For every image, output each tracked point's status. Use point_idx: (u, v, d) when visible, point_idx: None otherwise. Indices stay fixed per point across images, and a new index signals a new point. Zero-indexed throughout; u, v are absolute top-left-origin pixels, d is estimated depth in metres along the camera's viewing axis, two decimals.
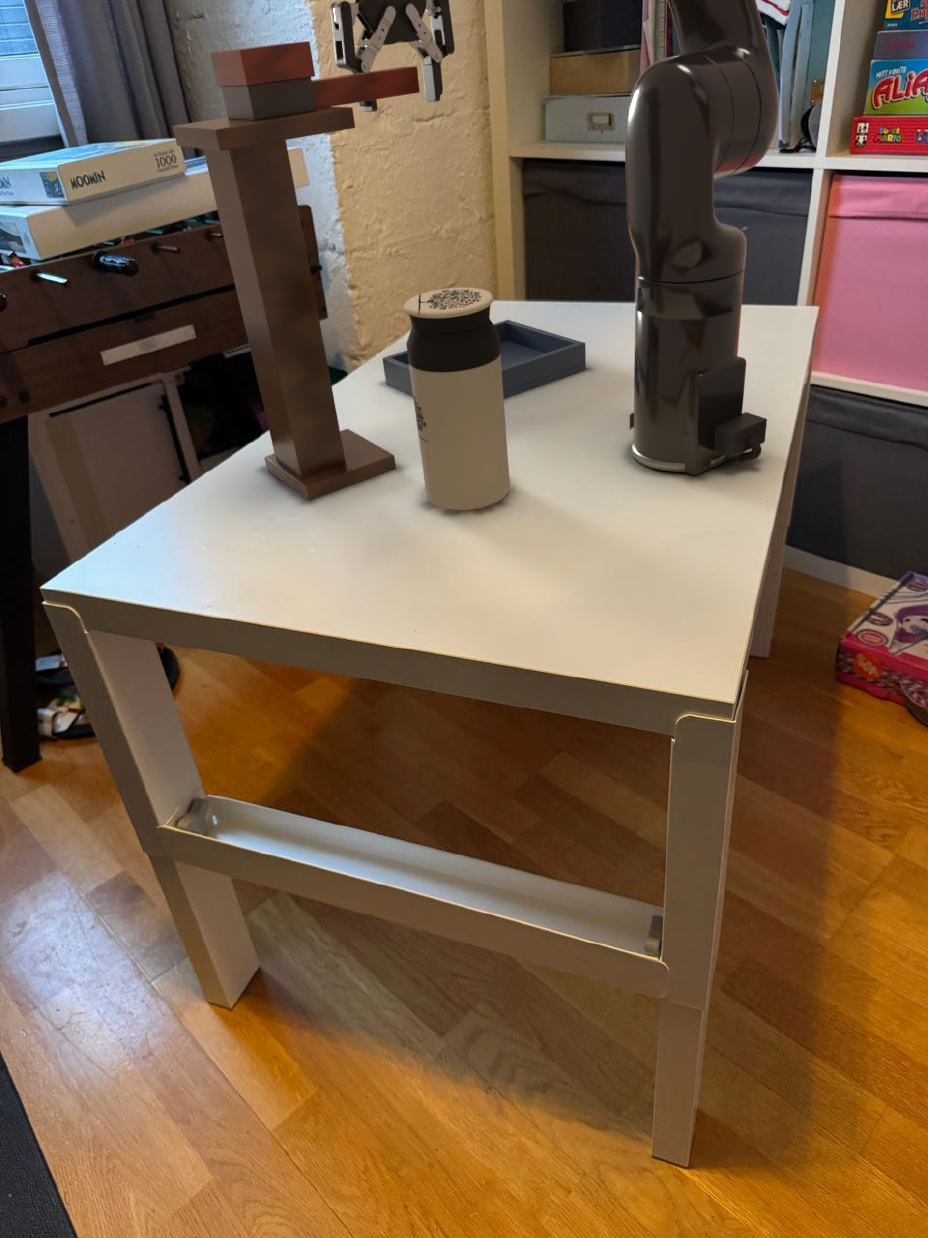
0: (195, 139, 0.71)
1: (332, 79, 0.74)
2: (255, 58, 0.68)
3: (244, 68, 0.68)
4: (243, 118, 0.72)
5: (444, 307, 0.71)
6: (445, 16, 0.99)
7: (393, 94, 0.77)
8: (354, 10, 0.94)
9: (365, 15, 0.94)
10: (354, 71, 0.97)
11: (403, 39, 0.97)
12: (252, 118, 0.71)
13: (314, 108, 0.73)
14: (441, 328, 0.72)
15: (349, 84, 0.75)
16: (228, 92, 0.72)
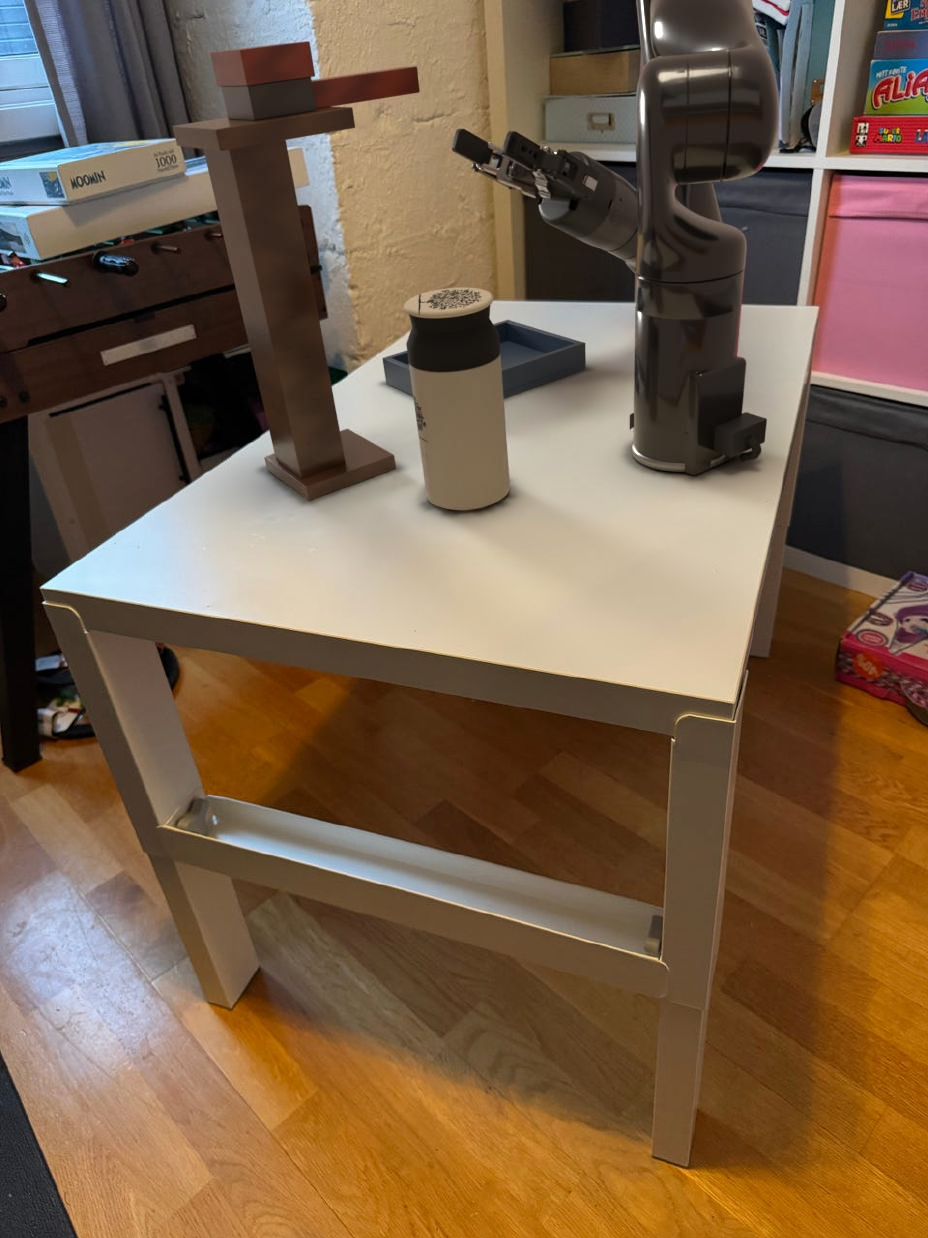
0: (195, 139, 0.71)
1: (332, 79, 0.74)
2: (255, 58, 0.68)
3: (244, 68, 0.68)
4: (243, 118, 0.72)
5: (444, 307, 0.71)
6: None
7: (393, 94, 0.77)
8: None
9: None
10: None
11: None
12: (252, 118, 0.71)
13: (314, 108, 0.73)
14: (441, 328, 0.72)
15: (349, 84, 0.75)
16: (228, 92, 0.72)
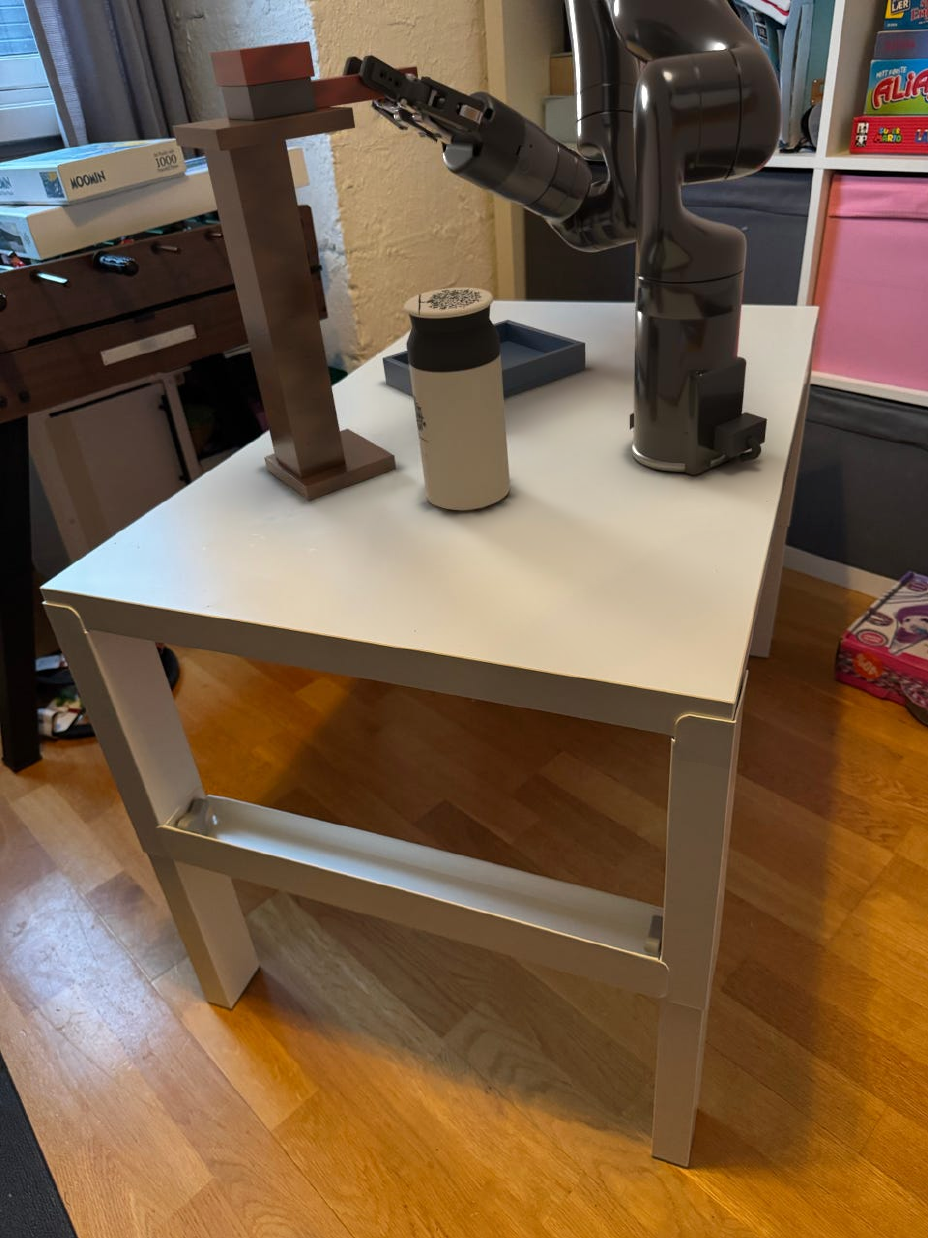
0: (195, 139, 0.71)
1: (332, 79, 0.74)
2: (255, 58, 0.68)
3: (244, 68, 0.68)
4: (243, 118, 0.72)
5: (444, 307, 0.71)
6: None
7: None
8: None
9: None
10: None
11: None
12: (252, 118, 0.71)
13: (314, 108, 0.73)
14: (441, 328, 0.72)
15: (349, 83, 0.75)
16: (228, 92, 0.72)
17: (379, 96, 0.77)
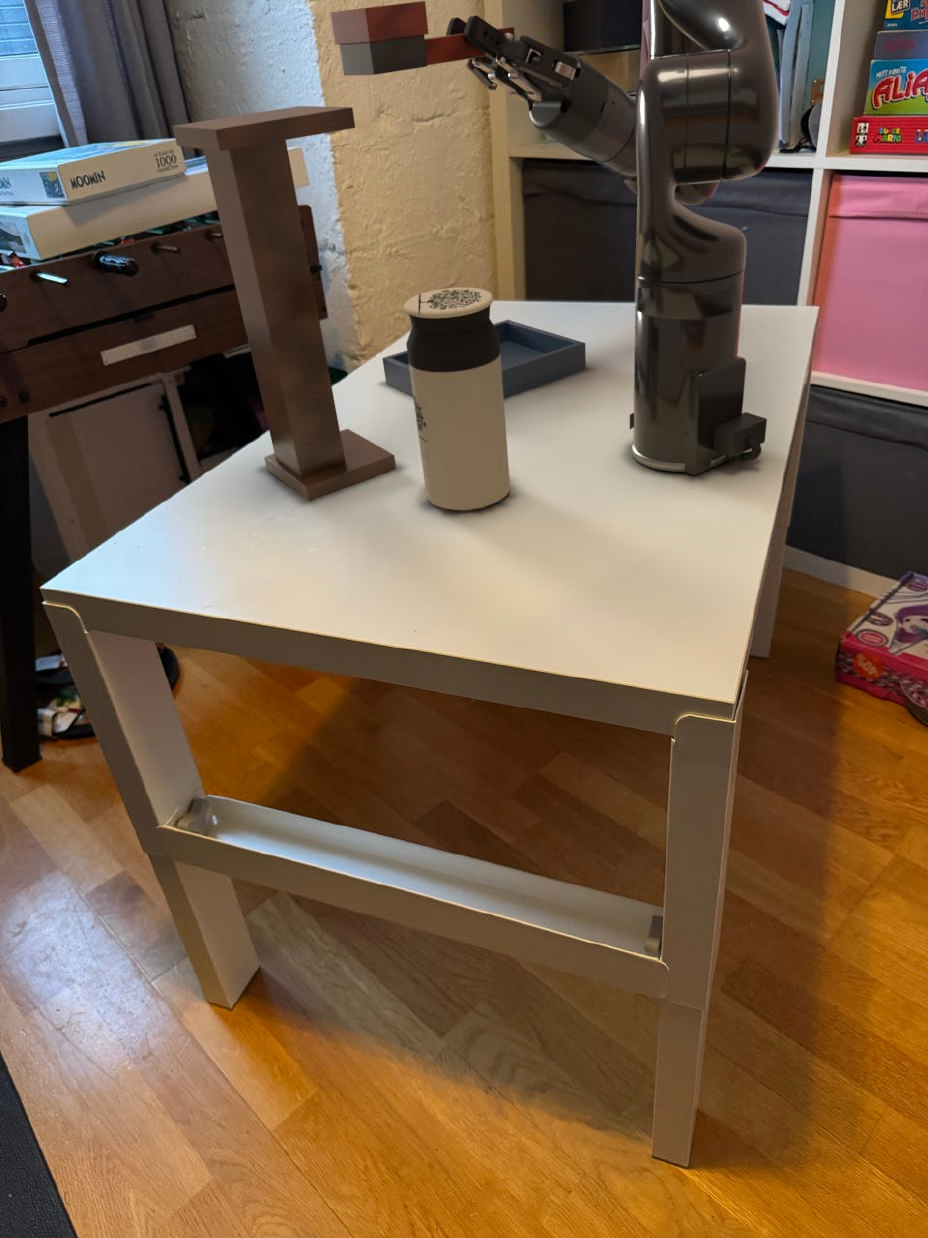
0: (195, 139, 0.71)
1: (440, 38, 0.80)
2: (378, 16, 0.74)
3: (368, 25, 0.74)
4: (361, 73, 0.78)
5: (444, 307, 0.71)
6: None
7: None
8: None
9: None
10: None
11: None
12: (371, 73, 0.77)
13: (425, 64, 0.79)
14: (441, 328, 0.72)
15: (455, 42, 0.81)
16: (346, 49, 0.78)
17: (480, 54, 0.83)
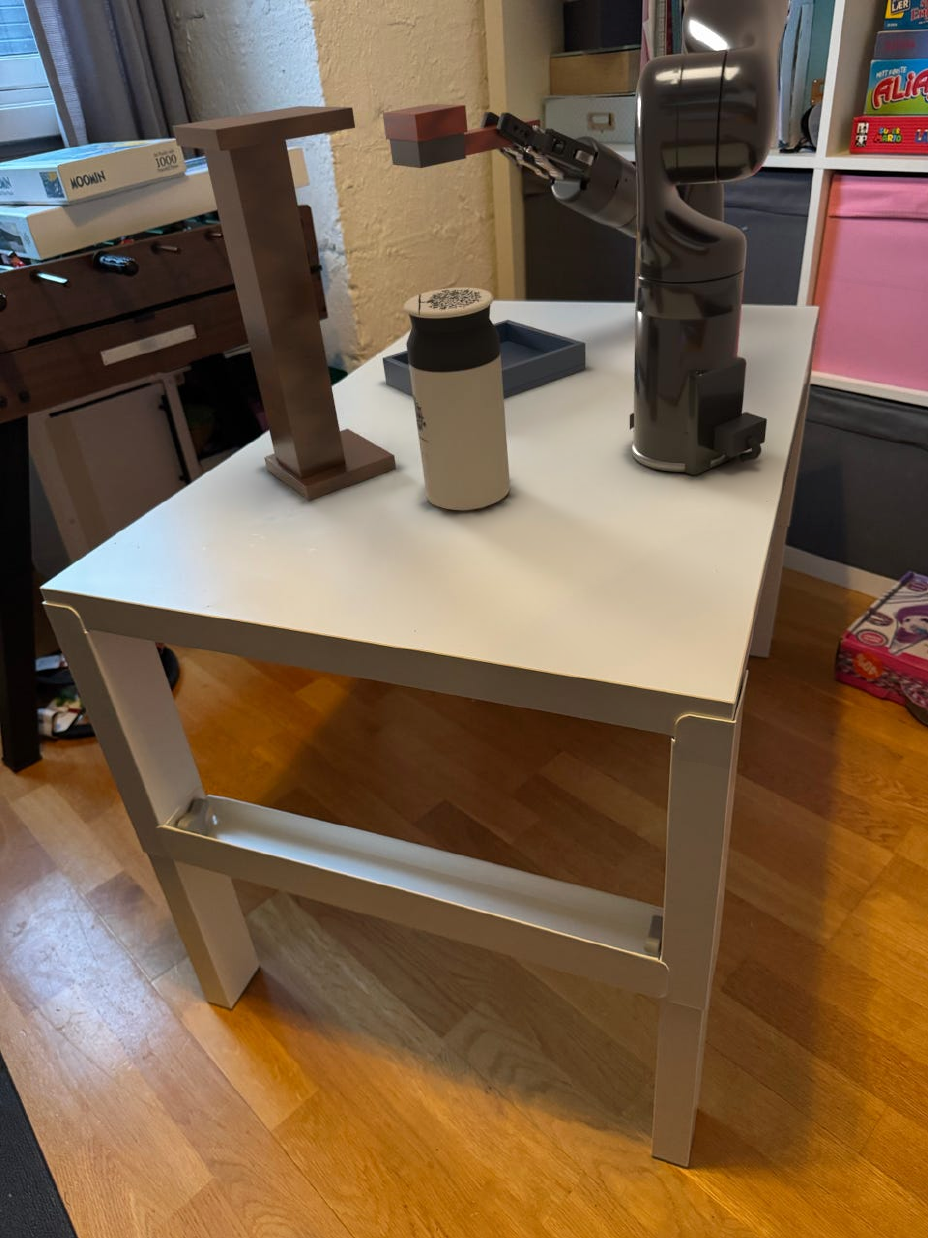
0: (195, 139, 0.71)
1: (476, 132, 0.92)
2: (425, 120, 0.86)
3: (417, 128, 0.86)
4: (409, 165, 0.90)
5: (444, 307, 0.71)
6: None
7: None
8: None
9: None
10: None
11: None
12: (418, 166, 0.89)
13: (464, 156, 0.91)
14: (441, 328, 0.72)
15: (489, 135, 0.93)
16: (396, 144, 0.90)
17: (510, 144, 0.95)
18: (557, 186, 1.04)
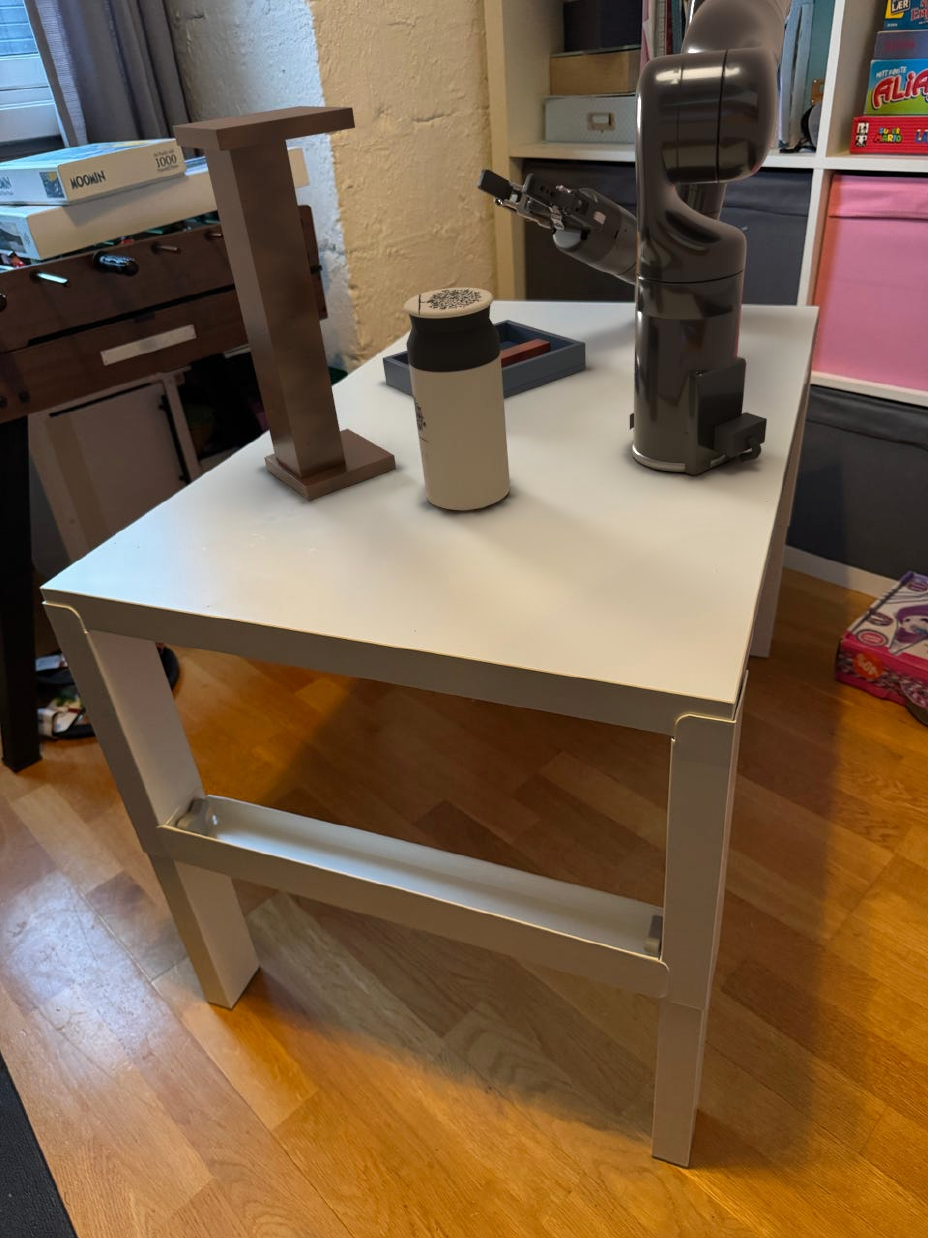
0: (195, 139, 0.71)
1: None
2: None
3: None
4: None
5: (444, 307, 0.71)
6: None
7: None
8: None
9: None
10: None
11: None
12: None
13: None
14: (441, 328, 0.72)
15: (507, 361, 1.07)
16: None
17: None
18: (558, 235, 1.07)
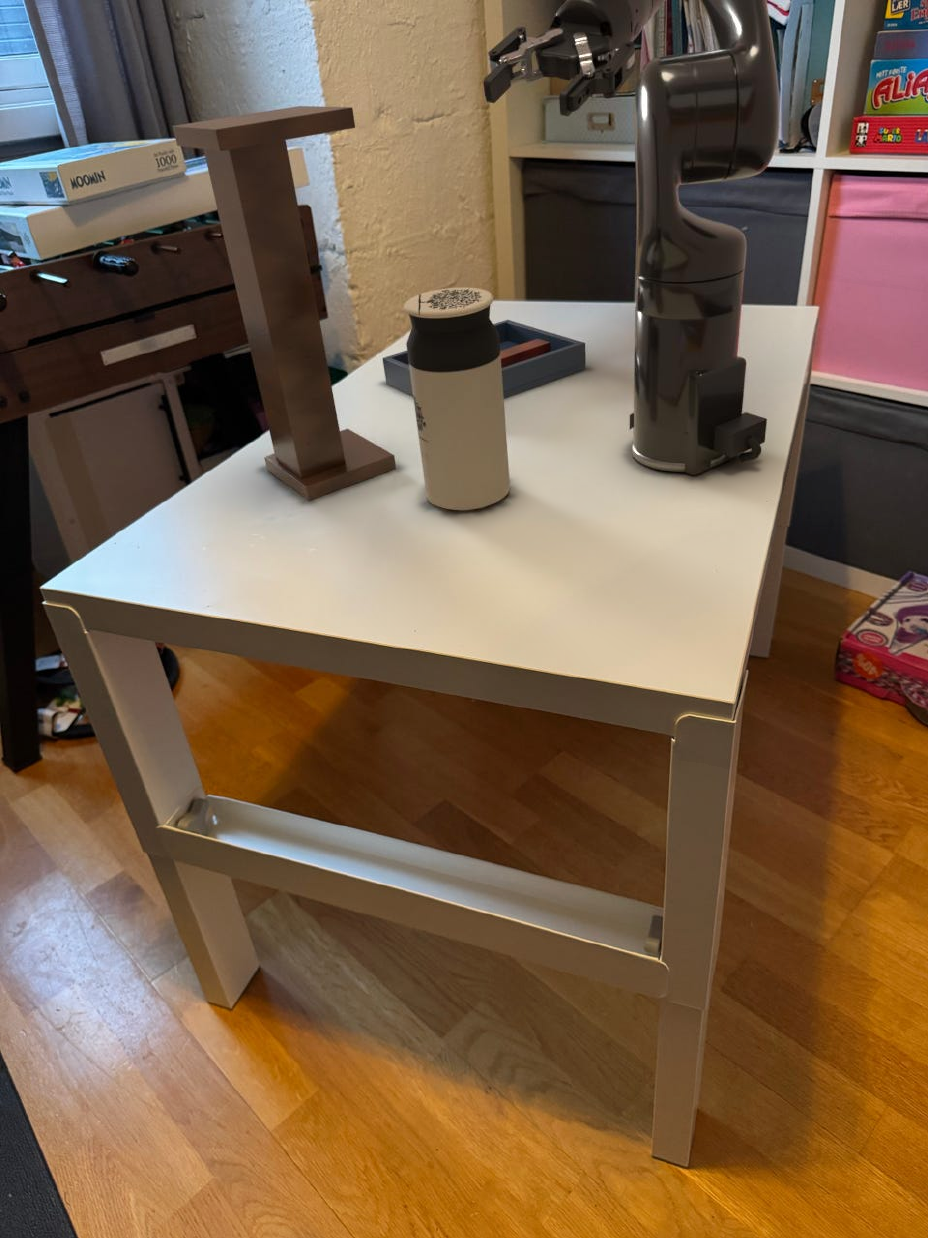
0: (195, 139, 0.71)
1: None
2: None
3: None
4: None
5: (444, 307, 0.71)
6: (619, 53, 0.86)
7: None
8: (531, 40, 0.92)
9: None
10: None
11: (560, 56, 0.88)
12: None
13: None
14: (441, 328, 0.72)
15: (507, 361, 1.07)
16: None
17: None
18: None
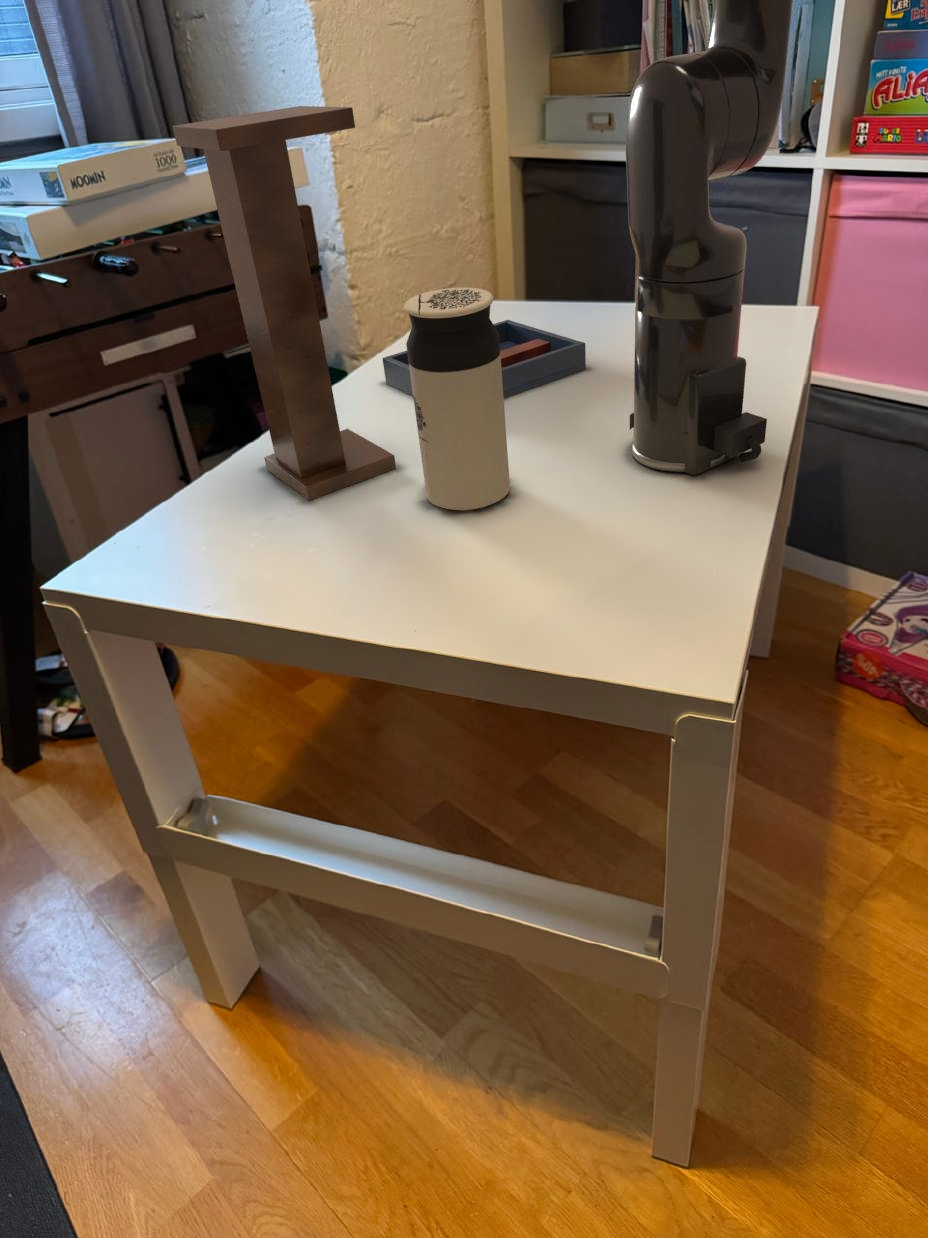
0: (195, 139, 0.71)
1: None
2: None
3: None
4: None
5: (444, 307, 0.71)
6: None
7: None
8: None
9: None
10: None
11: None
12: None
13: None
14: (441, 328, 0.72)
15: (507, 361, 1.07)
16: None
17: None
18: None
